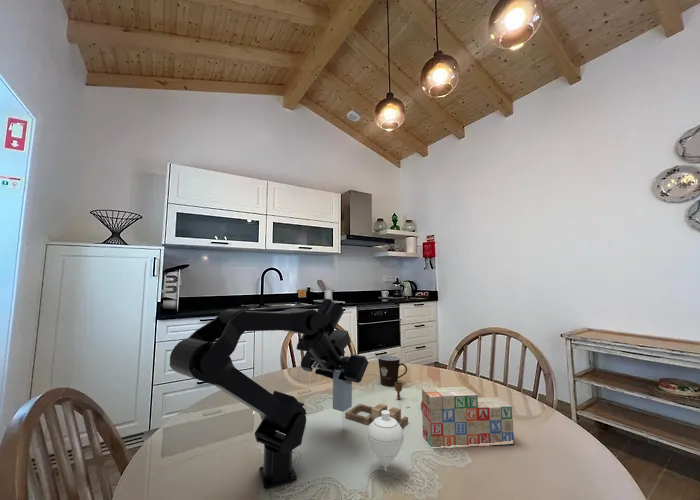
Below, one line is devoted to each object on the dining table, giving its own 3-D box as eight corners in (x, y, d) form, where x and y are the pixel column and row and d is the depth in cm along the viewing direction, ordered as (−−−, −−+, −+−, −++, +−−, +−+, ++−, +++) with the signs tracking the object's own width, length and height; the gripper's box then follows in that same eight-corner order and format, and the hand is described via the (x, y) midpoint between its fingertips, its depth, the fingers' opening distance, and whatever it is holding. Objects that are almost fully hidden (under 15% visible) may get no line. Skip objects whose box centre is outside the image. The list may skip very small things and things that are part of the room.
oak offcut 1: (378, 426, 83) (379, 411, 83) (371, 423, 84) (371, 409, 85) (387, 419, 87) (387, 405, 88) (379, 417, 88) (379, 403, 89)
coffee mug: (374, 381, 120) (374, 356, 121) (392, 379, 124) (392, 354, 125) (389, 391, 110) (389, 363, 111) (409, 388, 113) (408, 361, 114)
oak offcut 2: (393, 430, 81) (393, 415, 81) (385, 428, 82) (385, 412, 82) (401, 423, 85) (400, 408, 85) (393, 421, 86) (393, 406, 86)
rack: (395, 434, 79) (395, 428, 79) (345, 418, 88) (345, 412, 88) (408, 422, 85) (408, 417, 85) (359, 408, 94) (359, 403, 94)
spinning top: (400, 460, 67) (399, 404, 68) (407, 483, 59) (407, 419, 61) (365, 460, 67) (366, 404, 68) (369, 483, 59) (369, 419, 60)
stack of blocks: (499, 433, 80) (497, 385, 81) (514, 446, 74) (512, 393, 75) (422, 436, 78) (421, 387, 79) (430, 449, 72) (429, 396, 73)
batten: (343, 411, 78) (343, 362, 79) (332, 408, 80) (333, 360, 81) (351, 406, 81) (352, 359, 83) (341, 403, 83) (341, 357, 85)
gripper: (364, 324, 75) (385, 360, 83) (308, 318, 85) (331, 351, 93) (346, 363, 67) (370, 399, 75) (287, 351, 78) (314, 384, 86)
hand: (345, 380), depth 82 cm, fingers closed on batten, 3 cm apart
